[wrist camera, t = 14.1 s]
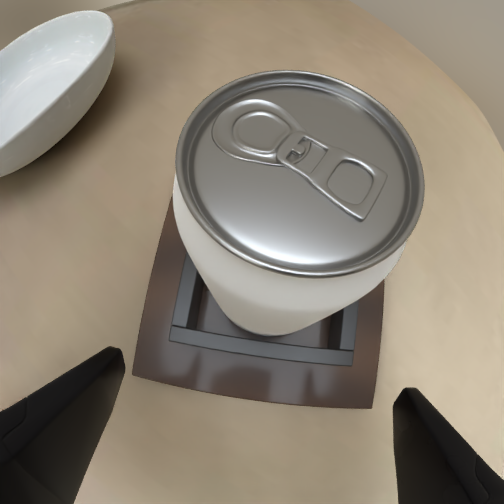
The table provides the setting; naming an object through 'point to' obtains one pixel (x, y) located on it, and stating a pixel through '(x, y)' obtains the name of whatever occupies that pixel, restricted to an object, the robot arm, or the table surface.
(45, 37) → the serving bowl
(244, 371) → the dark brown square tray
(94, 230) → the table surface
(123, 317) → the table surface
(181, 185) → the can
